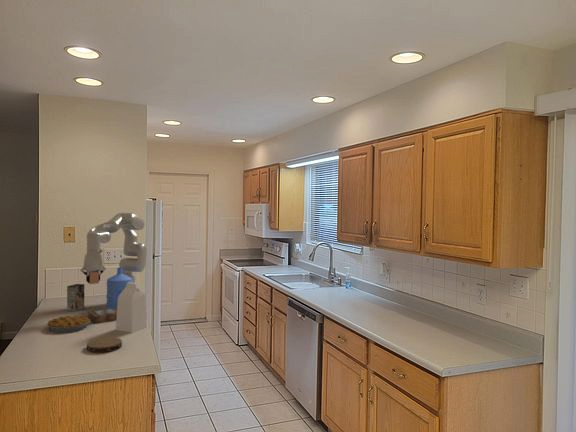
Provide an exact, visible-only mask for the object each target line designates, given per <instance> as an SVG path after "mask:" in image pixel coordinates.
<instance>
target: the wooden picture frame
mask: <svg viewBox="0 0 576 432" xmlns="http://www.w3.org/2000/svg"><path fill="white" fill-rule="evenodd" d="M87 317H88V318H89V319H90V322H92V323H94V324H99V323H105V322H106V323H107V322H114V321H116V319H117V309H115V308H112V309H106V308H105V309H99V310H98V309H97V310H92V311H87Z"/></svg>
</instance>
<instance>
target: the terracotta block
mask: <svg viewBox="0 0 576 432" xmlns="http://www.w3.org/2000/svg"><path fill="white" fill-rule="evenodd" d="M89 276H90V282H89V283H88V284H89V285H95V284H99V283H100V280H99V272H98V271H90V273H89Z"/></svg>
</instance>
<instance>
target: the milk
mask: <svg viewBox="0 0 576 432" xmlns="http://www.w3.org/2000/svg"><path fill="white" fill-rule="evenodd" d="M146 328H148V324H147V301H146V294H145V293H144V292H143V291H142V290H141V289H140V288H139V286H138V283H136V282H135V283H130V282H129V283H127V285H126V288H125V289H124V290H123V291H122V292H121V294H120V295H119V296H118V304H117V319H116V320H115V330H116V331H121V332H125V333H130V334H132V333H136V332H138V331H141V330H144V329H146Z"/></svg>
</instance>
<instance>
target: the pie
mask: <svg viewBox="0 0 576 432" xmlns="http://www.w3.org/2000/svg"><path fill="white" fill-rule="evenodd" d="M90 322H91V320H90V319H89V318H88V316H83V315H80V316H79V315H72V316H71V315H70V316H68V315H67V316H64V317H63V316H59V317H58V318H52V319H50V320H48V322H47V324H46V326H47V327H49V330H50V331H52V332H54V333H70V332H71V333H72V332H77V331H80V330H84V329H86V328H87V327H88V325H89V323H90Z"/></svg>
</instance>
